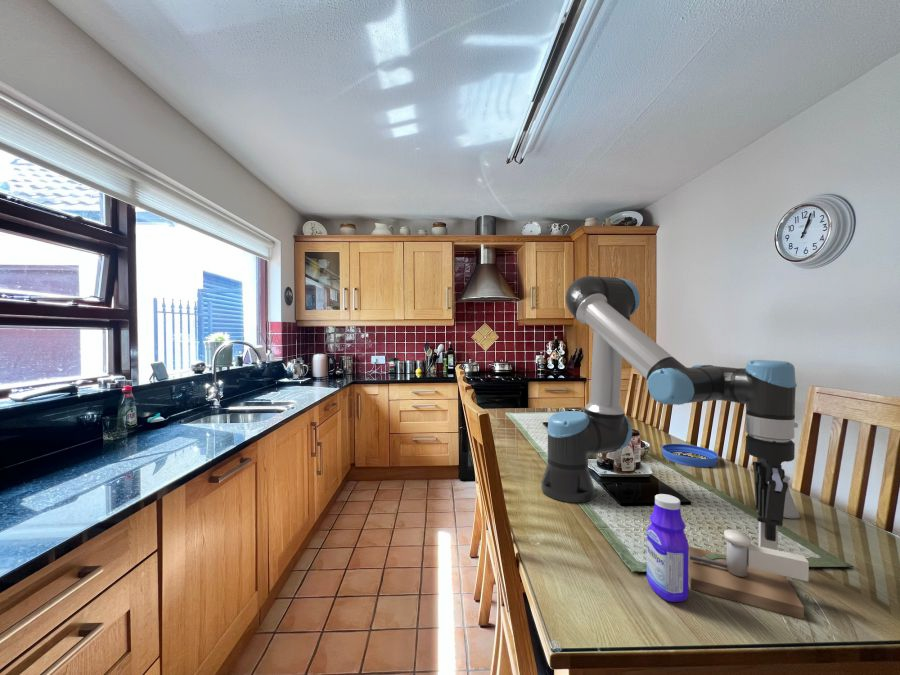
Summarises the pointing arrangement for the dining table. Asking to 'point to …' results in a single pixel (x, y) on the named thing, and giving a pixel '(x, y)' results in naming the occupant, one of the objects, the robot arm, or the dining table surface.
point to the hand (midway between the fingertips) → (767, 552)
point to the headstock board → (743, 585)
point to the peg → (758, 558)
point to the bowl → (690, 460)
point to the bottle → (667, 550)
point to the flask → (789, 503)
